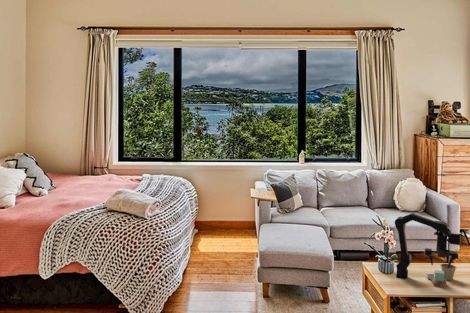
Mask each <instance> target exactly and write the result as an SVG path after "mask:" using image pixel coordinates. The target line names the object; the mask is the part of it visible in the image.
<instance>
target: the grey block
mask: <svg viewBox="0 0 470 313" xmlns="http://www.w3.org/2000/svg"><path fill="white" fill-rule="evenodd" d="M424 273H425V275H424V277H425V279H426V278H427V279H430V281H432V277H434V276H435V272H433V271H427V270H426V271H425V272H424ZM427 279H426V280H427Z"/></svg>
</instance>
